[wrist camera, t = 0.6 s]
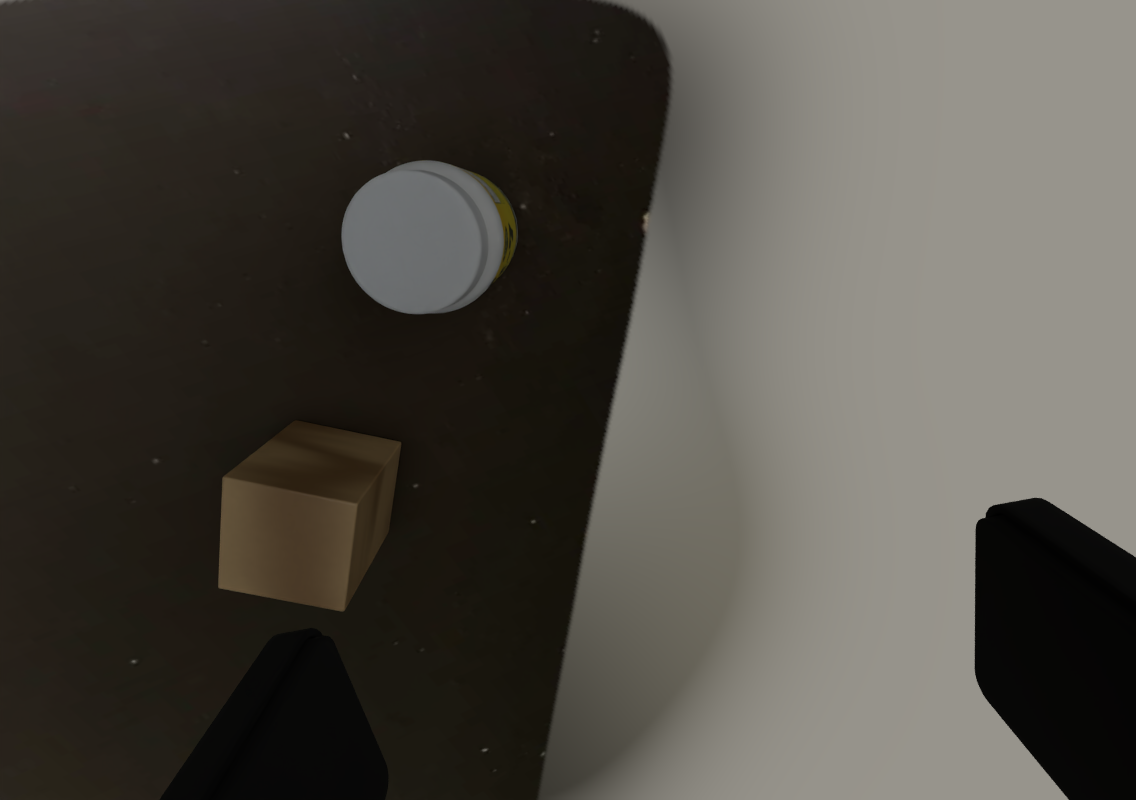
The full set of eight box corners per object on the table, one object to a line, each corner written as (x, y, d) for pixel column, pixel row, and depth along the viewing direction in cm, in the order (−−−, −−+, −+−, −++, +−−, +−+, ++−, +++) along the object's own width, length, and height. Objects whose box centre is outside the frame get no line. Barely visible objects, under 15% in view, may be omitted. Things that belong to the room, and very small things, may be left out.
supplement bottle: (479, 310, 26) (437, 360, 18) (384, 245, 25) (294, 267, 17) (542, 216, 24) (526, 223, 16) (444, 144, 23) (377, 115, 15)
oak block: (287, 512, 29) (217, 588, 23) (294, 418, 27) (221, 476, 22) (388, 532, 29) (344, 612, 23) (402, 441, 28) (357, 504, 22)
